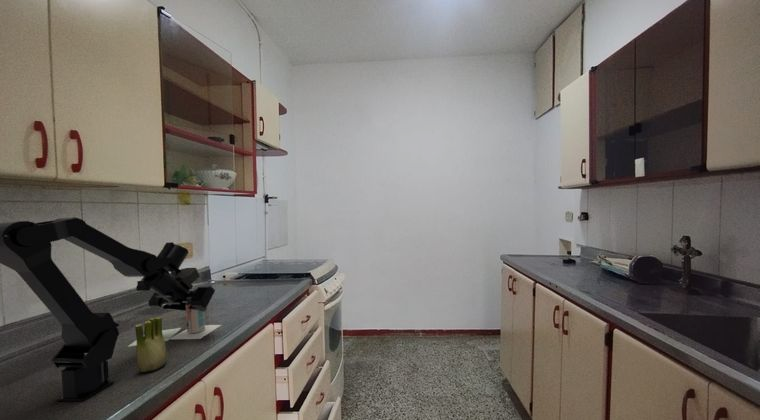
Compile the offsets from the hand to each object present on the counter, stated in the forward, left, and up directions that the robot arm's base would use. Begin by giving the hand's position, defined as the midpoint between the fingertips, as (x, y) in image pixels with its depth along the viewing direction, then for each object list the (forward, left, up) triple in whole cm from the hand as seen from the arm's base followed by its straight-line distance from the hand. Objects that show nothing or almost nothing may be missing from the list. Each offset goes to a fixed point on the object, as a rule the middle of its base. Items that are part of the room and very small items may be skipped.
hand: (198, 309), depth 94 cm
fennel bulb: (-22, -5, -7) cm, 24 cm away
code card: (-1, 0, -7) cm, 7 cm away
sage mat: (-4, +11, -7) cm, 14 cm away
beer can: (-1, 0, -7) cm, 7 cm away
